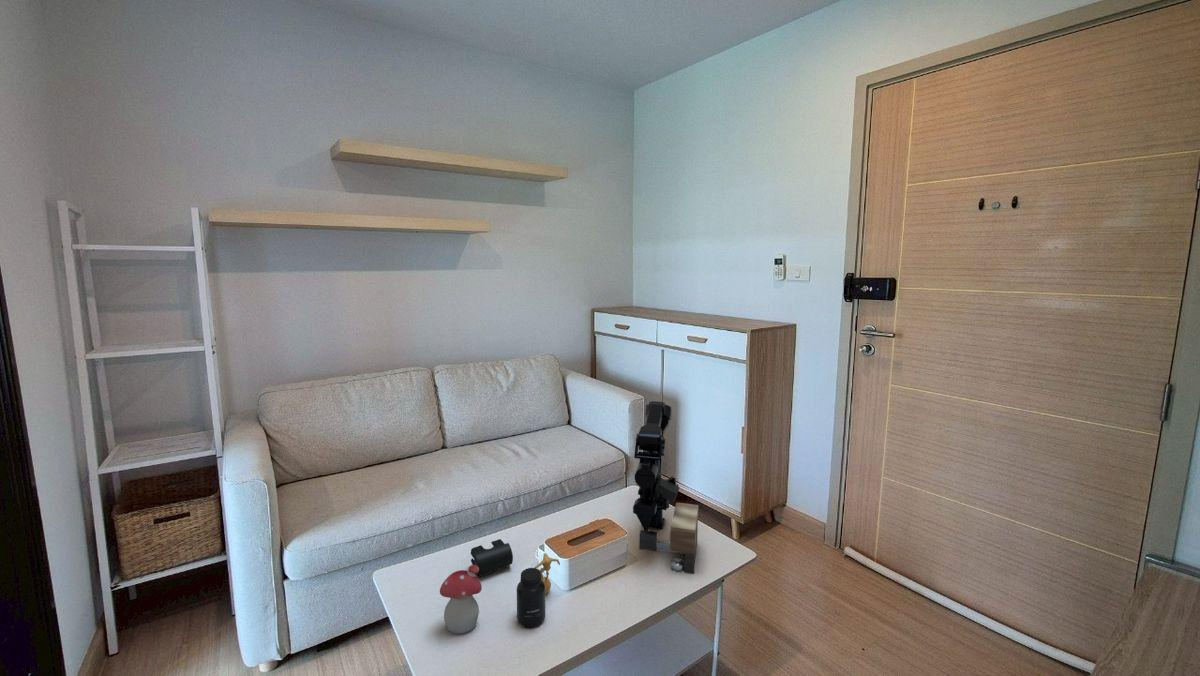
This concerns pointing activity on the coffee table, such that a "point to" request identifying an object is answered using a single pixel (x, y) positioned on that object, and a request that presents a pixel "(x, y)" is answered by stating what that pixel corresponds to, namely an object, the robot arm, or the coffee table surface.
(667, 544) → the blade tool
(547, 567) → the figurine
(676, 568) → the grey metal dome
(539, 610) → the supplement bottle
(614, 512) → the coffee table surface
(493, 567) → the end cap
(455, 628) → the decorative ornament
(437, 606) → the coffee table surface
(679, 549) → the bronze curved block
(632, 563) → the coffee table surface
